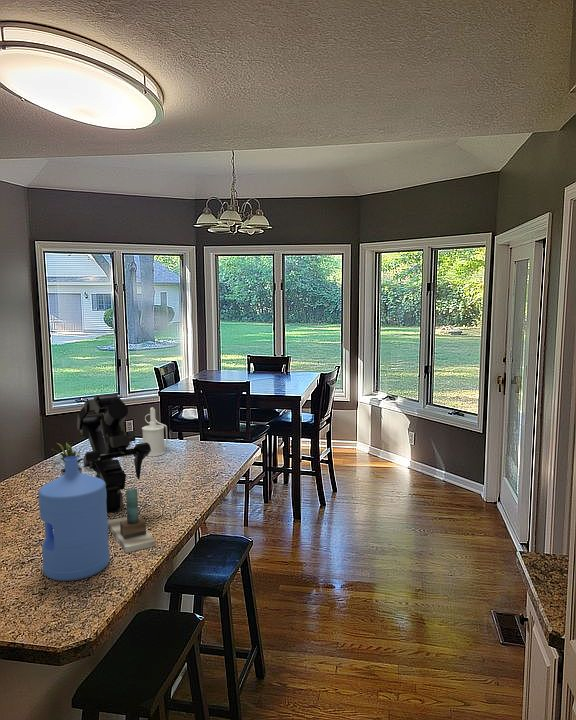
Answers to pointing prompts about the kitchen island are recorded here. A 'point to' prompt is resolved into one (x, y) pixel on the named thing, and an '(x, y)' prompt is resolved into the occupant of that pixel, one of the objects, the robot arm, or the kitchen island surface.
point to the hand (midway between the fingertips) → (123, 482)
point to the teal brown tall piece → (132, 517)
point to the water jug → (74, 525)
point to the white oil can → (154, 435)
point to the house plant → (69, 453)
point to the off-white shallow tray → (132, 542)
